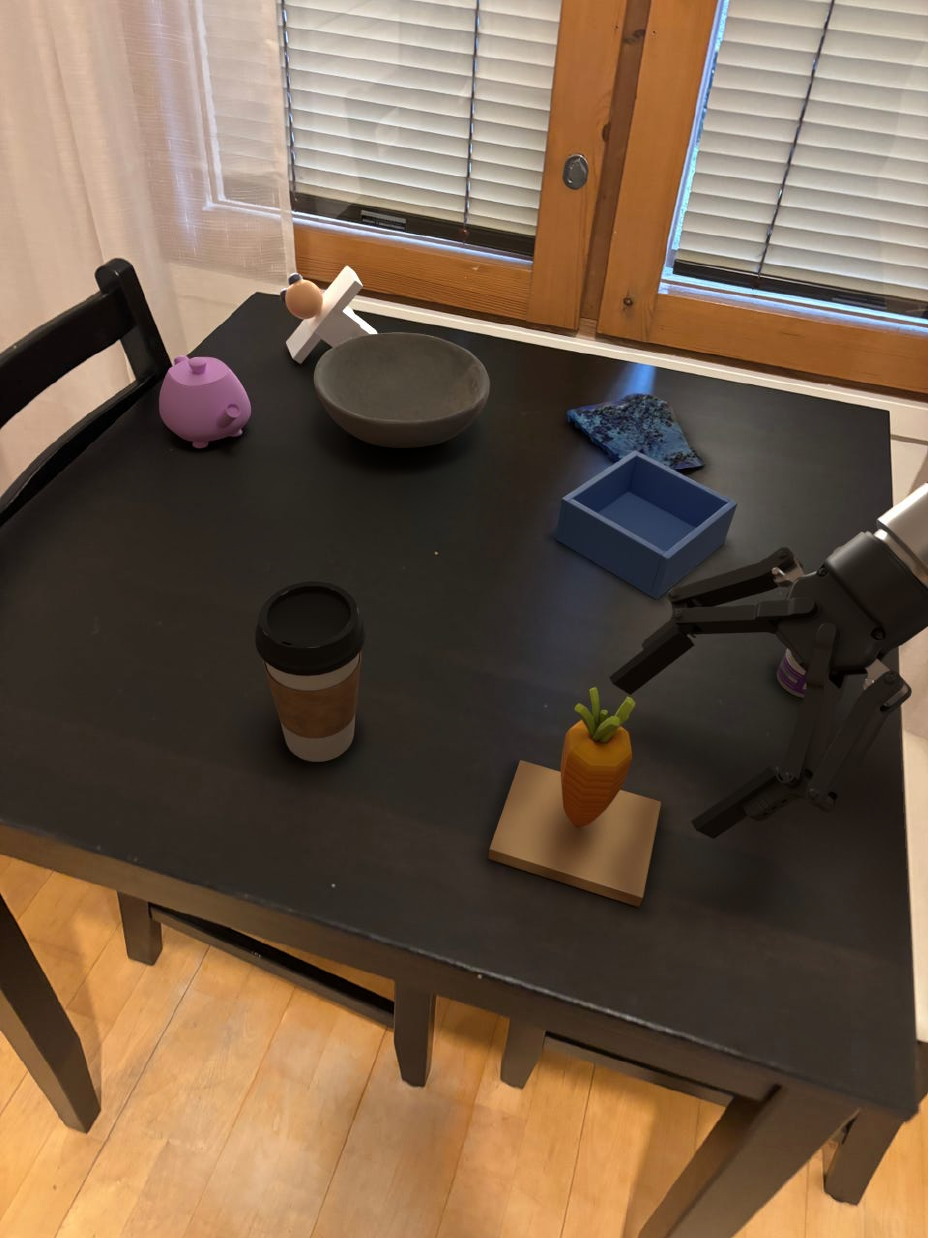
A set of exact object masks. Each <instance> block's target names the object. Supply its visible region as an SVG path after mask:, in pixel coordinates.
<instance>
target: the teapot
mask: <svg viewBox="0 0 928 1238" xmlns="http://www.w3.org/2000/svg"><path fill="white" fill-rule="evenodd" d="M173 364H174V365H173V366H171V367H169V369H168V370H167V372H166V374H165V377H164V379H163V382H162V385H161V388H160V391H159V396H158V397H159V398H158V409H159V410H158V411H159V416H160V418H161V420H162V422H163V424H165V426H166V427H167V428H168V429H169V430H170V431H172V432H173V433H174V434H175V435H176V436H177V437H179V438H181V439H182V440H185V441H186V442H192V447H194V448H196V449H203V448H206V447H208V446H209V442H213V441H218V440H222V439H225V438H227V437H233V438H234V437H238V436H241V435H242V434H243V430H242V429H243V428H244V426H246V424H247V423H248V421H249V419H250V418H251V415H252V406H251V401H250V399H249V396H248V394H247V391H246V390H245V388H244V386H243V384H242V383H241V382H240V381H241V380H239V378H238V377H237V376H236V374H235V373H234V372H233V370H231V368H230V367H229V366H228V365H227V364H226V363H224V362H223V361H222V360H220V359H218V358H216V357H211V356H194V357H192V358H189V356H187V355H185V354H181V355H177V356H175V357H174V359H173Z"/></svg>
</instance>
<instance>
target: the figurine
mask: <svg viewBox="0 0 928 1238" xmlns="http://www.w3.org/2000/svg"><path fill="white" fill-rule="evenodd" d="M287 282H288V285H289V286H288V287H285V288H283V289H281V291H280V292H279V298H280V301H281V302H282V303H283V304H285V305H286V308H287V311H289V312H290V314H291V315H293V316H294V317H296V318H297V319H300V320H302V321H301V322H300V324H299V325H298V326H297V327H296V329H295V330H293V333H291V335H290V336H289V337H288V339H287V340H286V341H285V344H286V346H287V349H288V351H289V353H290V356H291V358H292V360H294V361H295V362H297V363H298V364H299V365H302V363H303V362H304V361H305V360H306V359H307V357H308V356H309V355H310V354H311V352H312V351H313V350H314V349H315V347H316V346H317V345H318V344H319V343H320V341H321V340H322V341H323V342H325V343H326V344H328V346H330V347H331V348H333V347H335V346H336V345H338V344H340V343H342V342H345V341H347V340H349V339H352V338H355V337H358V336H362V335H367V334H379V333H378V332H377V329H375V328H373V326H371V325H369V324H368V323H367V322H366V321H365V320H363V318H361V317H360V316H358V315H357V314H355V312H354V310H353V309H352V308H350V307H349V304H350V303H351V302H352V301H353V300H354V299H355V297H356V296H357V294H358V293H359V292H360V291H361V290H362V289H363V288H364V285H363V284H362V282H361V280H360V278H359V277H358V275H357V273H356V272H355V270H353V269H352V268H351V267H350V266H348V265H345V266H344V268H343V269H342V270H341V271H340V273H338V275H337V277H335V279H334V280H333V281H332V283H331V284H330V285H329V286H328V288H326V290H325V292H323V293H322V291H321V289H320V288H319V286H318V285H317V284H315V283H314V282H312V281H310V280H308V279H304V278H303V276H302V275H301V274H300V273H298V272H293V273H291V274H289V276H288V280H287Z"/></svg>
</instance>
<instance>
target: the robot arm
mask: <svg viewBox="0 0 928 1238" xmlns="http://www.w3.org/2000/svg"><path fill="white" fill-rule="evenodd" d="M875 525H876V529H877V531H875V532H874V533H872V532H871V531H868V530H867V531H866V532H863V531H860V532H859V533H857V535H855V536H853V538H851V539H850V540H849V541H847V542H846V543H845V544H844V545H841V546H842V547H841V546H840V547H841V548H840V549H838V550H837V551H836V552H835V553H833V552H832V554H830V555H828V557H826V559H825V560H824V562H823V564H822V565H821V566H820V567H819V568H818V569H817V570H816V571H814V572H811V573H807V574H806V573H805V571H804V564H803V563H802V562H801V560H799V558H798V557H797V556H796V555H795V554H794V553H793V551H792V550H791V549H790V548H789V547H786V546H784V547H780V548H778V549H776V550H775V551H774V552H772V553H770V554H769V555H768V556H766V557H764V558H762V559H761V560H760V561H758V562H754V563H751V564H748V565H744V566H741V567H737V568H735V569H732V570H728V571H724V572H721V573H719V574H715V575H711V576H708V577H705V578H702V579H699V580H696V581H692V582H689V583H685V584H682V585H679V586H676V587H673V588H670V589H669V590H668V592H667V600H668V601H669V602H670V605H671V610H672V612H671V613H672V614H671V617H670V618H669V619H668V620H667V621H665V623H663V624H662V625H660V627H658V628H657V629H656V630H655V631H653V632H652V633H651V634H649V635H648V636H647V637H645V638H644V639H643V641H642V642H641V644H640V646H641V648H642V649H643V650H640V652H639V653H637V654H636V655H635V656H633V657H632V658H631V659H630V660H628V661H627V662H626V663H625V664H623V665H622V666H621V667H620V668H618V669H617V670H616V671H615V672H613V673H612V674H611V675H610V676H608V678H609V680H610V682H611V683H612V685H614V686H615V687H616V688H618V689H619V690H621V691H623V692H624V693H626V694H627V695H629V696H631V695H633V694H634V693H635V692H637V691H638V690H639V689H640V688H642V687H643V686H644V685H646V684H647V683H648V682H649V681H651V680H652V679H653V678H655V677H656V676H658V675H659V674H660V673H661V672H662V671H664V670H665V669H666V668H668V667H669V666H670V665H672V664H673V663H674V662H675V661H677V660H678V659H679V658H680V657H682V656H683V655H684V654H686V653H687V652H688V651H690V650H692V648H693V647H695V646H696V645H695V643H694V642H693V640H692V639H691V637H692V638H694V639H697V635H720V634H721V635H723V634H757V633H769V634H772V635H775V637H776V638H777V639H778V641H780V643H782V645H784V646H785V647H786V649H787V648H788V649H789V650H790V651H791V654H792V656H793V658H794V659H795V661H796V662H797V663H798V665H799V666H800V667H802V668H803V669H804V670H805V671H806V672H807V675H806V691H805V694H804V698H802V701H801V705H800V708H799V711H798V715H797V719H796V721H795V724H794V728H793V733H792V735H791V739H790V742H789V745H788V749H787V753H786V756H785V759H784V761H783V766H782V770H781V772H778V771H777V770H775V769H774V768H772V767H771V766H768V767H766V768H765V769H763V770H762V771H761V772H759V773H758V774H756V775H755V776H754V777H752V778H751V779H749V780H748V781H746V782H745V783H743V784H742V785H741V786H739V787H738V788H736V789H735V790H733V791H732V792H731V793H729V794H728V795H726V796H725V797H723V798H722V799H720V800H719V801H718V802H716V803H715V804H714V805H712V806H711V807H709V808H708V809H706V810H705V811H704V812H702V813H701V814H698V815H697V816H696V817H695V818H693V819H692V820H690V822H691V824H692V826H693V828H694V829H695V831H696V832H699V833H700V834H702V835H705V836H707V837H708V838H710V839H712V840H715V839H717V837H719V836H721V835H722V834H724V833H725V832H726V831H728V830H730V829H731V828H732V827H734V826H736V825H738V823H740V822H741V821H742V820H744V819H746V818H747V817H748V818H749V819H752V820H753V821H755V822H762V821H765V820H766V819H768V818H770V817H771V816H772V815H775V814H776V813H778V812H779V811H780V810H781V809H783V808H784V807H786V806H787V805H789V804H791V803H792V802H794V801H795V800H799V799H803V800H805V801H807V802H808V803H810V804H811V805H813V807H816V808H817V809H818V810H820V811H821V812H824V813H831V812H833V811H834V810H835V809H836V808H837V806H838V804H839V803H840V801H841V799H842V798H843V795H844V794H845V792H846V790H847V788H848V787H849V785H850V783H851V781H852V780H853V778H854V776H855V775H856V773H857V771H858V769H859V768H860V766H861V764H862V762H863V761H864V759H865V757H866V756H867V754H868V752H869V750H870V748H871V747H872V745H873V743H874V741H875V740H876V739H877V736H878V735H879V733H880V731H881V729H882V727H883V726H884V724H885V722H886V720H887V718H888V717H889V716H890V715H891V714H892V713H893V712H894V711H896V710H897V709H898V708H899V707H900V706H901V705H903V704H904V703H905V702H906V701H908V699H910V697H911V696H912V693H913V692H912V691H913V690H912V687H911V686H910V684H909V683H907V681H906V680H905V679H904V678H903V677H902V675H901V674H900V673H899V672H897V671H896V670H891V669H890V668H889V667H887V665H885V664H884V662H883V660H884V659H885V657H886V656H887V655H888V653H890V652H891V651H893V650H894V649H896V648H899V647H901V646H903V645H904V644H906V643H907V642H909V641H910V640H911V639H914V638H915V637H916V636H917V635H918V634H920V633H921V632H923V631H924V630H926V629H928V481H926V482H924V483H923V484H922V485H920V486H918V488H916V489H915V490H914V491H913V492H910V494H908V495H907V496H906V497H904V498H903V499H902V500H900V501H899V502H898V503H896V504H895V505H893V507H891V508H889V510H887V511H886V512H884V513H883V514H882V515H881V516H878V518H877V519H876V523H875ZM778 588H789V589H788V591H787V594H786V596H785V599H776V600H761V601H760V600H759V601H758V602H757V603H755V604H738V605H724V604H727V603H731V602H735V601H738V600H742V599H745V598H749V597H752V596H756V595H759V594H762V593H767V592H770V591H772V590H775V589H778ZM689 636H691V637H689ZM857 675H858V676H861V675H867V676H866V679H865V680H864V682H863V685H862V688H863V691H862V692H861V694H859V696H858V697H857V699H856V701H854V703H853V706H852V708H851V709H850V711H849V713H848V714H847V716H846V718H845V720H844V721H843V723H842V725H841V727H840V728H839V730H838V731H837V733H836V735H835V737H834V738H833V740H832V742H831V744H830V746H828V749H827V751H826V753H825V754H824V756H823V752H824V749H825V746H826V742H827V739H828V735H829V732H830V728H831V726H832V725H831V724H832V721H833V718H834V714H835V710H836V707H837V704H838V702H839V701H840V702H841V699H842V697H843V694H844V691H845V688H846V685H847V684H846V683H847V680H848V676H857ZM822 756H823V758H822Z"/></svg>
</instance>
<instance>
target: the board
mask: <svg viewBox="0 0 928 1238" xmlns="http://www.w3.org/2000/svg"><path fill="white" fill-rule="evenodd" d="M661 806H662V802H661V801H659V800H656V799H653V798H651V797H650V798H649V797H646V796H643V795H640V794H636V793H632V792H629V791H626V790H622V789H620V791H619V792H618V794H617V795H616V797H615V798H614V800H613V801H612V802H611V804H610V805H609V806H608V808H607V809H606V810H605V811H604V812H603V813H602V814H601V815H600V816H599V817H598V818H596V819H595V820H594V821H593V822H592V823H590V824H589V825H586V826H583V827H576V826H575V825H574V824H573V823H572V822H571V821H570V820H569V818H568V817H567V815H566V813H565V810H564V808H563V798H562V787H561V771H558V770H556V769H552V768H548V767H545V766H542V765H538V764H535V763H531V762H530V761H529V762H528V761H524V760H521V759H520V760H519V763H518V765H517V768H516V771H515V774H514V777H513V780H512V783H511V786H510V789H509V791H508V794H507V797H506V800H505V802H504V806H503V809H502V811H501V814H500V817H499V820H498V823H497V826H496V829H495V831H494V834H493V838H492V840H491V843H490V846H489V850H488V857H487V859H488V860H490V861H493V862H497V863H500V864H502V865H506V866H508V867H512V868H515V869H519V870H522V871H525V872H528V873H531V874H535V875H537V876H540V877H544V878H547V879H550V880H552V881H556V882H559V883H562V884H565V885H568V886H572V887H574V888H577V889H581V890H584V891H587V892H590V893H593V894H596V895H600V896H602V897H606V898H609V899H612V900H615V901H618V902H621V903H624V904H628V905H630V906H634V907H637V908H640V906H641V904H642V902H643V898H644V894H645V889H646V883H647V879H648V873H649V868H650V864H651V859H652V853H653V848H654V843H655V838H656V834H657V833H656V832H657V827H658V823H659V817H660V812H661Z"/></svg>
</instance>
